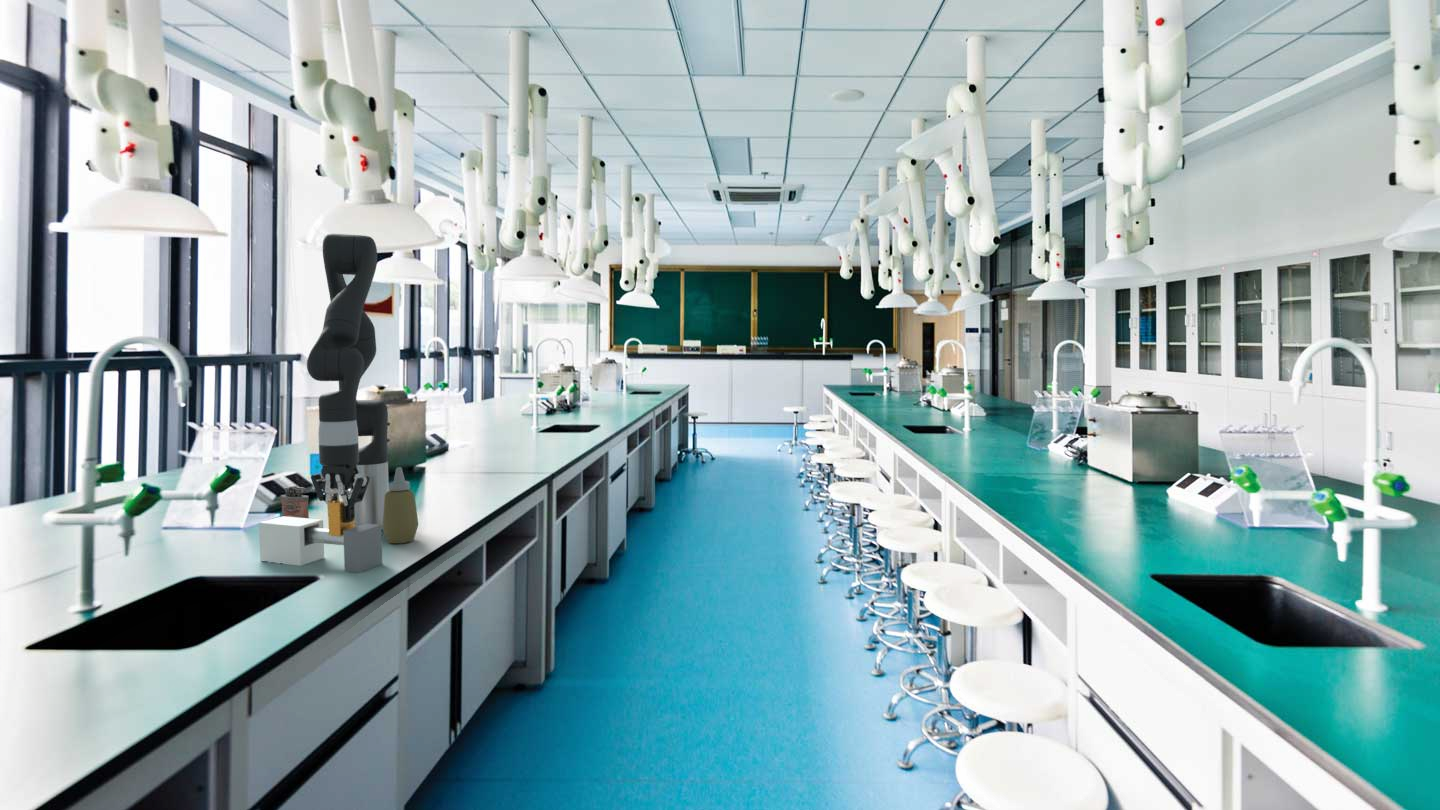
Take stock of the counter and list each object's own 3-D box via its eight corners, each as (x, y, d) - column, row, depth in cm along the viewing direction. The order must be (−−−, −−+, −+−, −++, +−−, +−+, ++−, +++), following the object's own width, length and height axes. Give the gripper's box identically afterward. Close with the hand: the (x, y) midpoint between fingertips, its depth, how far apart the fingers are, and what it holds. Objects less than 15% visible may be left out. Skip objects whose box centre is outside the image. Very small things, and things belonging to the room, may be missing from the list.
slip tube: (288, 542, 160) (286, 499, 159) (303, 538, 164) (301, 495, 163) (356, 549, 155) (354, 504, 154) (370, 544, 159) (368, 500, 158)
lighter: (278, 524, 194) (276, 486, 193) (289, 521, 197) (287, 484, 197) (302, 526, 192) (300, 488, 191) (313, 523, 195) (311, 486, 194)
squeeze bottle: (408, 535, 184) (406, 463, 183) (425, 540, 179) (423, 467, 178) (376, 541, 178) (374, 467, 176) (392, 547, 173) (390, 471, 171)
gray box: (344, 570, 155) (343, 530, 154) (367, 562, 161) (365, 523, 160) (360, 572, 154) (359, 532, 153) (382, 563, 160) (381, 524, 159)
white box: (260, 561, 161) (258, 522, 160) (284, 553, 167) (283, 516, 166) (300, 565, 158) (299, 526, 157) (324, 557, 164) (323, 519, 163)
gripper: (378, 441, 158) (381, 520, 160) (325, 438, 162) (328, 515, 164) (352, 445, 151) (355, 528, 153) (297, 442, 155) (300, 523, 156)
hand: (341, 521), depth 158 cm, fingers closed on slip tube, 3 cm apart
